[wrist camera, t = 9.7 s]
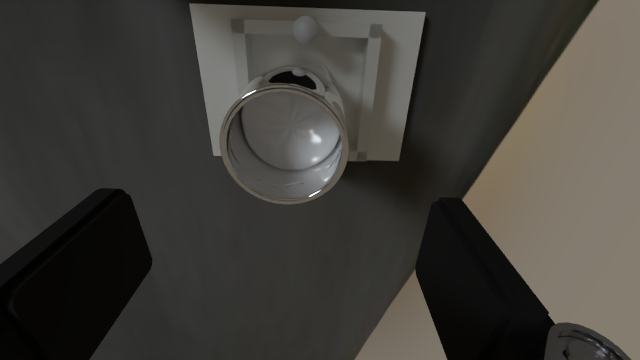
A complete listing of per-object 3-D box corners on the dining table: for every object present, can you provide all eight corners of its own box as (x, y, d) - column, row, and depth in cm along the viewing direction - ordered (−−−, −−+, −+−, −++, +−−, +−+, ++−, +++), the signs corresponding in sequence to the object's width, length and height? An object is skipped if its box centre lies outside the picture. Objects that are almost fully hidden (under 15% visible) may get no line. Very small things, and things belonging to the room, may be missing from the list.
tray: (422, 12, 26) (448, 10, 20) (396, 157, 32) (411, 183, 27) (193, 3, 25) (160, 0, 20) (216, 151, 32) (196, 177, 27)
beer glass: (345, 58, 26) (370, 96, 13) (329, 129, 30) (336, 217, 17) (269, 41, 26) (216, 65, 13) (261, 116, 29) (213, 197, 16)
